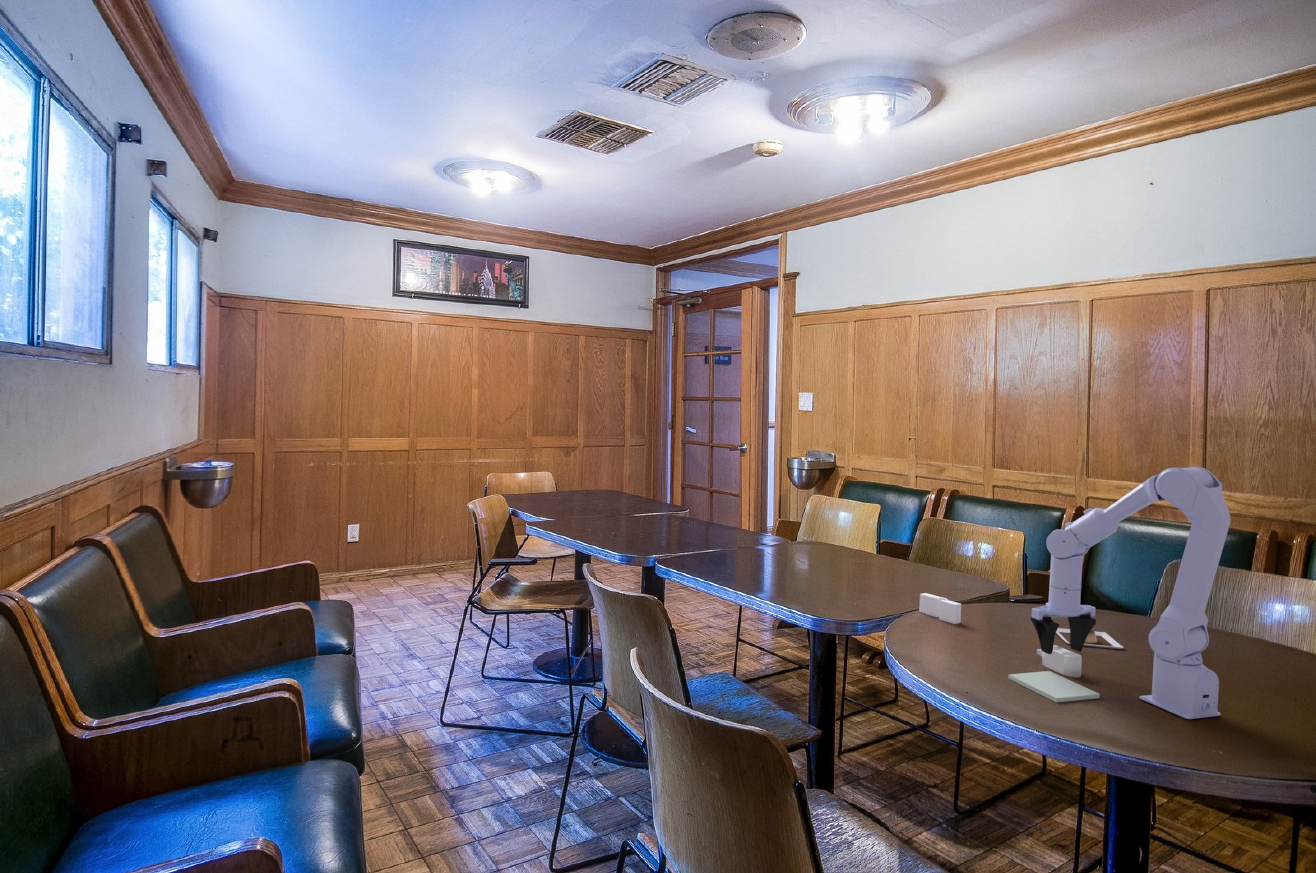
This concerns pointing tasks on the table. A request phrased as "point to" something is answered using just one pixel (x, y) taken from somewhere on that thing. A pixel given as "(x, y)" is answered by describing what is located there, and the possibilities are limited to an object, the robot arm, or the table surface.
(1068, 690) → the sage pad
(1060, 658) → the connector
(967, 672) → the table surface
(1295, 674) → the table surface
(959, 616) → the white upright tiles
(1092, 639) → the dessert
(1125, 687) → the table surface
